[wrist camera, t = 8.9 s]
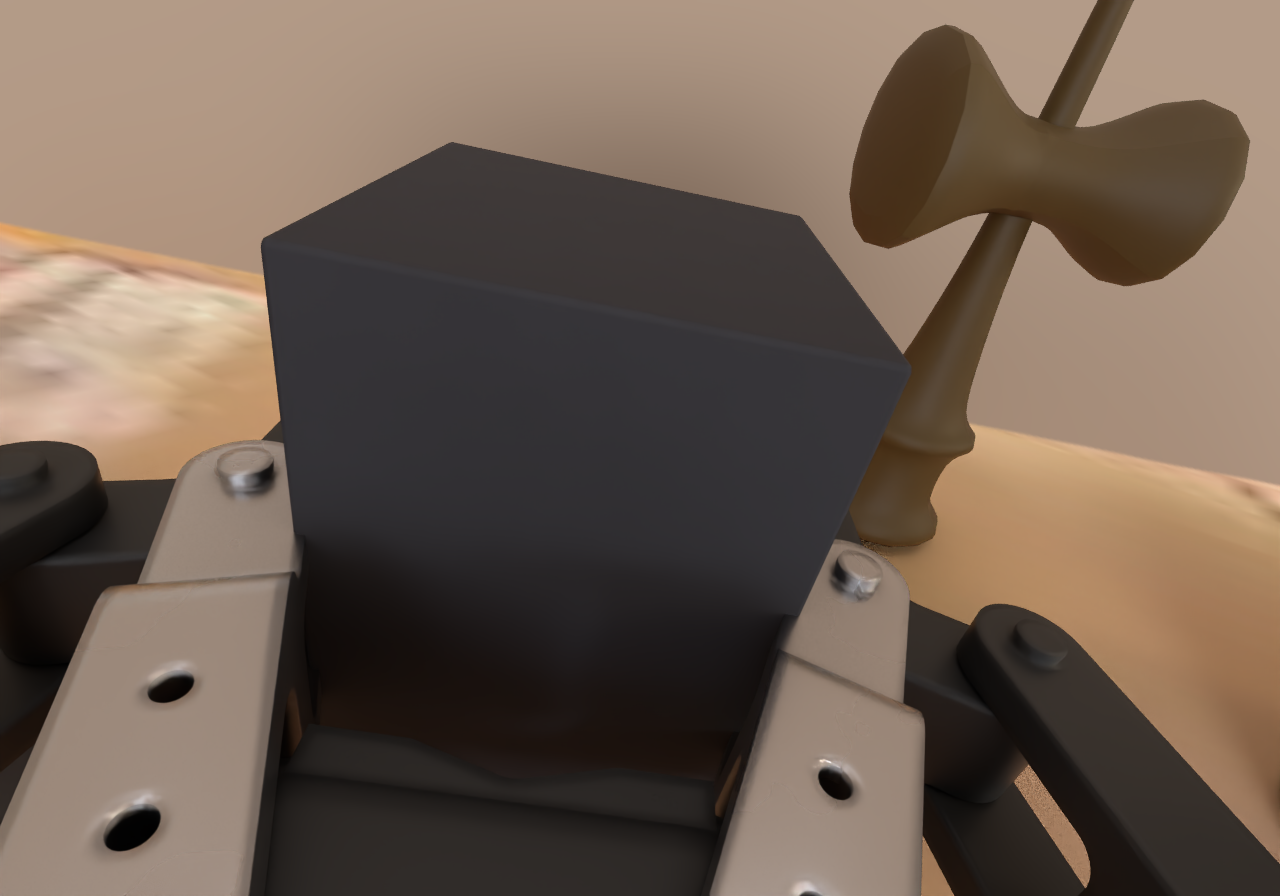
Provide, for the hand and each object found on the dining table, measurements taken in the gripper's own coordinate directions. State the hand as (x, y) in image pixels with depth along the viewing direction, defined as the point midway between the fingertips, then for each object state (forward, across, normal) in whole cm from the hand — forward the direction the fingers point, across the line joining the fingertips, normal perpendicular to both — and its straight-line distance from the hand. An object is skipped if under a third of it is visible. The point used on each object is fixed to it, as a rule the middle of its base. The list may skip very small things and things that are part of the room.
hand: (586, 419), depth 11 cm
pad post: (-3, 0, +7) cm, 7 cm away
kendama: (+12, -12, +10) cm, 19 cm away
